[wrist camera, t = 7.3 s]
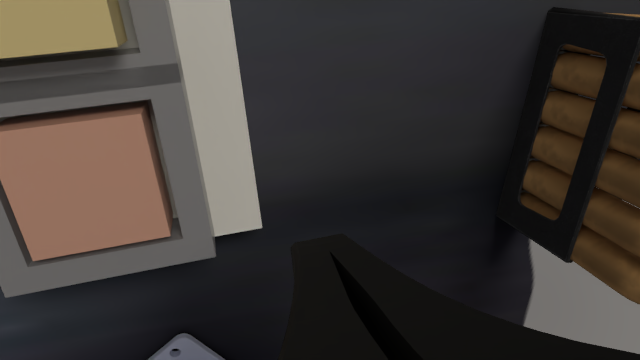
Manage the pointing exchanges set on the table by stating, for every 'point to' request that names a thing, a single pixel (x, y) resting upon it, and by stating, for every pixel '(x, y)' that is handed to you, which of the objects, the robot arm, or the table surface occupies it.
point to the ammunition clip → (582, 147)
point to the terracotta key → (85, 179)
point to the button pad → (169, 127)
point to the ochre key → (59, 26)
